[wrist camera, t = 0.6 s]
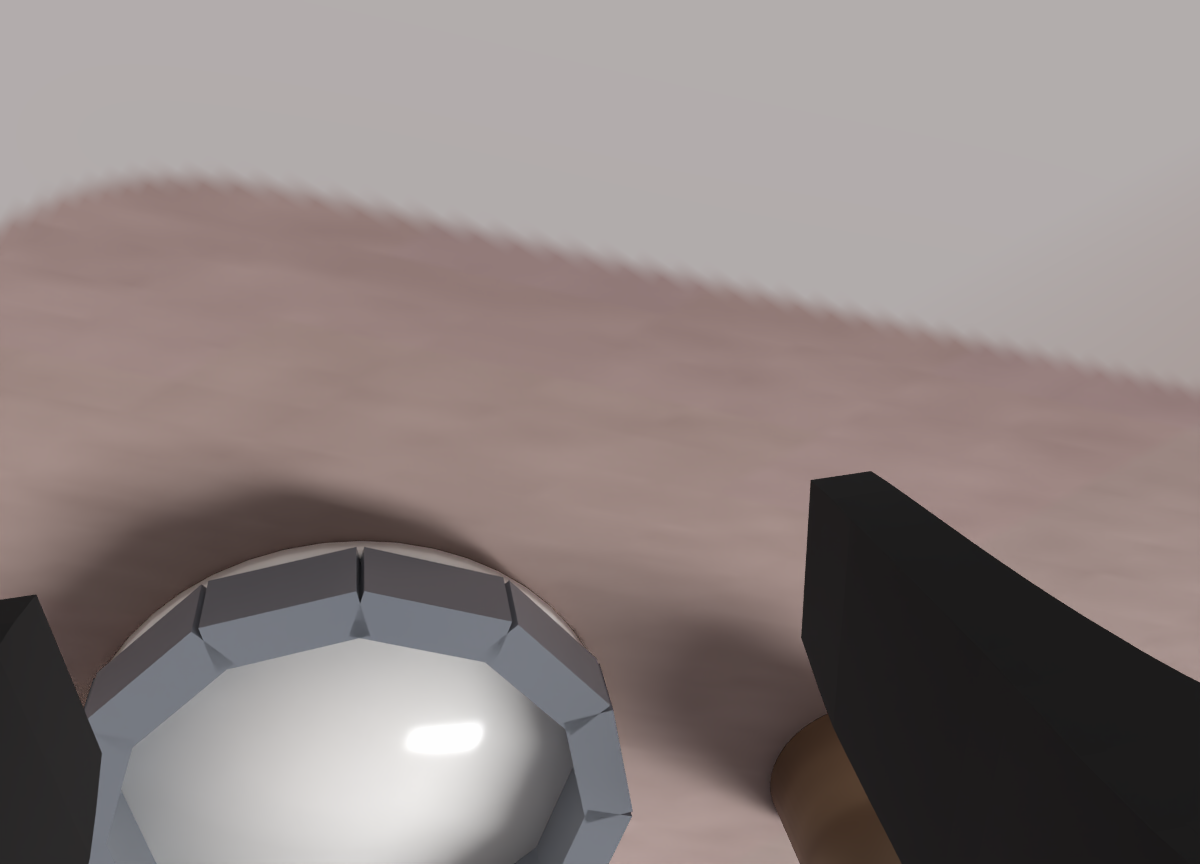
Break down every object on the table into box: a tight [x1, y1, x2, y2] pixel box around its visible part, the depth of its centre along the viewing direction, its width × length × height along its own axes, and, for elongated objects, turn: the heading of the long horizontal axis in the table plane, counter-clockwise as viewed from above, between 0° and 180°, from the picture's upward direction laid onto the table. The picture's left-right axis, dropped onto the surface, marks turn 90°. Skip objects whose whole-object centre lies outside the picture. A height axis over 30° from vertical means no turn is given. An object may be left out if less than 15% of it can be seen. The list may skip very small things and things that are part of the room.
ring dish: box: [84, 541, 632, 864], centre depth 24 cm, size 11×11×2 cm
